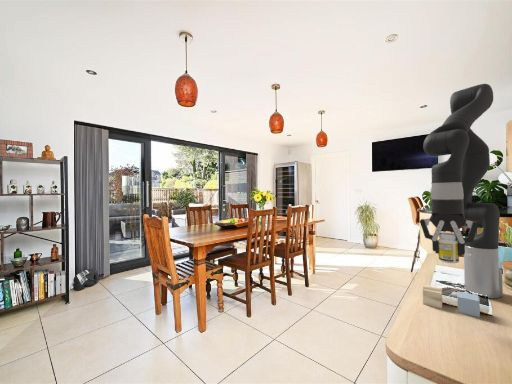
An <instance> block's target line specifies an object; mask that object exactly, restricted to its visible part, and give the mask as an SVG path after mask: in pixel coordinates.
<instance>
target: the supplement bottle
mask: <svg viewBox="0 0 512 384" xmlns="http://www.w3.org/2000/svg"><path fill="white" fill-rule="evenodd" d="M437 240H438V260H439V261H440V262H442V263H446V264H458V263H459V262H460V256H459V248H458V242H459V240H458V239H457V236H456V234H455V232H448V231H445V232H443V231H441V232H440V234H439V236H438V239H437Z"/></svg>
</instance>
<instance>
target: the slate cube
mask: <svg viewBox="0 0 512 384" xmlns="http://www.w3.org/2000/svg"><path fill="white" fill-rule="evenodd" d="M456 294H457V296H456V298H457V300H456V301H457V313H459V314H463V315H467V316H472V317H476V318H480V317H481V313H480V312H481V306H480V305H481V304H480V302H481V301H480V296H478V295H474V294H471V293H468V292H462V291H458V290H457V292H456Z"/></svg>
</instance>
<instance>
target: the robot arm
mask: <svg viewBox="0 0 512 384" xmlns="http://www.w3.org/2000/svg"><path fill="white" fill-rule="evenodd" d="M493 102H494V92H493V88H492V87H491V85H490V84H488V83H481V84H477V85H473V86H470V87H466V88H463V89H460V90H457V91H454V92H453V93H452V94H451V95H450V99H449V106H450V113H451V114H449V116H447V117H446V119H445V121H443V123H442V125H440V126H438V127H437V128H435V129H434V130H433V131H431V132H430V133H429V134H428V135H427V136H426V137H425V139H424V141H423V143H422V144H423V145H422V148H423V151H424V153H425V154H427V155H428V156H430V157H441V156H448V155H450V156H449V157H448V159H447V160H445V161H442V162H439V163H437V164H434V165H432V167H431V188H430V200H431V202H430V203H431V205H430V206H431V215H430V217H428V218H421V219H420V220H419V223H420V225H421V226H420V227H421V229H422V232H423V235H424V238H425V239H429V240H431V241H432V251H433V252H435V254H438V240H439V234H440V233H442V232H448V233H454V234H456V239H457V241H458V248H459V257H463V268H464V270H463V271H464V273H463V275H464V290H465V289H466V290H468V291H471V292H474V293H478V294H484V295H487V296H488V298H487V299H499V298H500V297H504V296H503V295H504V293H503V291H504V289H503V285H504V284H503V270H502V269H501V268H500V265H499V260H500V258H499V256H500V255H499V254H500V253H499V243H500V242H499V241H500V216H501V213H500V210H499V209H500V208H499V207H498V205H497V204H495V203H493V202H490V203H489V202H472V198H473V194H474V193H473V192H474V190H475V188H476V187H477V186H478V184H479V183H480V182H481V180H482V179H483V178H484V176H485V175H486V174H487V172H488V171H489V169H490V166H491V162H490V161H491V160H490V159H491V157H490V148H489V145H487V143H486V142H485V141H484V140H483V139H482V138H481V137H480V136H479V135H477V134H476V133H475V132H474V130H473V129H472V128H471V127H472V126H473V124H474V123H475V122H476V121H477V120H478V119H479V118H480V117H482V115H483V114H484V113H485V112H487V111H488V110H489V109H490V108H491V107H492V104H493ZM430 222H431V223H432V225H433V226H434V227H435V230H434V233H433V234H431V233H430V231H429V228H428V226H429V224H430ZM462 227H467V228H469V230H468V234H467V236H465V237H464V236H463V234H462V231H461V228H462ZM478 229H482V231H481V233H479V234H476V233H477V230H478ZM466 290H465V291H466Z"/></svg>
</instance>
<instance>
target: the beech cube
mask: <svg viewBox="0 0 512 384" xmlns="http://www.w3.org/2000/svg"><path fill="white" fill-rule="evenodd" d="M422 304H423V305H424V306H429V307H433V308H438V309H443V288H442V287H439V286H438V287H437V286H432V285H427V284H423V289H422Z"/></svg>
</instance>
